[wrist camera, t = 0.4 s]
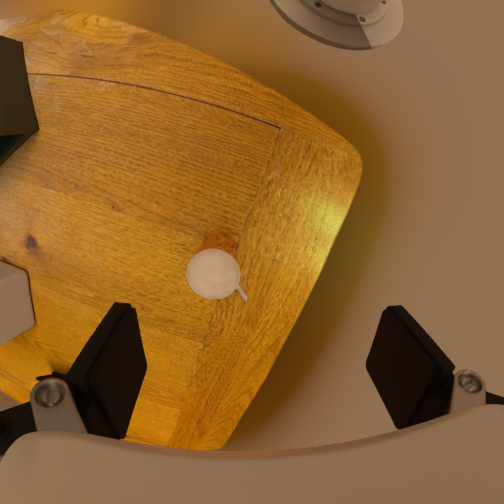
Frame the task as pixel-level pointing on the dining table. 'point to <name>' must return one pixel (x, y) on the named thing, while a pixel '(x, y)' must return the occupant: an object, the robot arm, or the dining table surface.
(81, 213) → the dining table surface
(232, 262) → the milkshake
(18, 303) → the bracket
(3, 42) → the shelf unit
